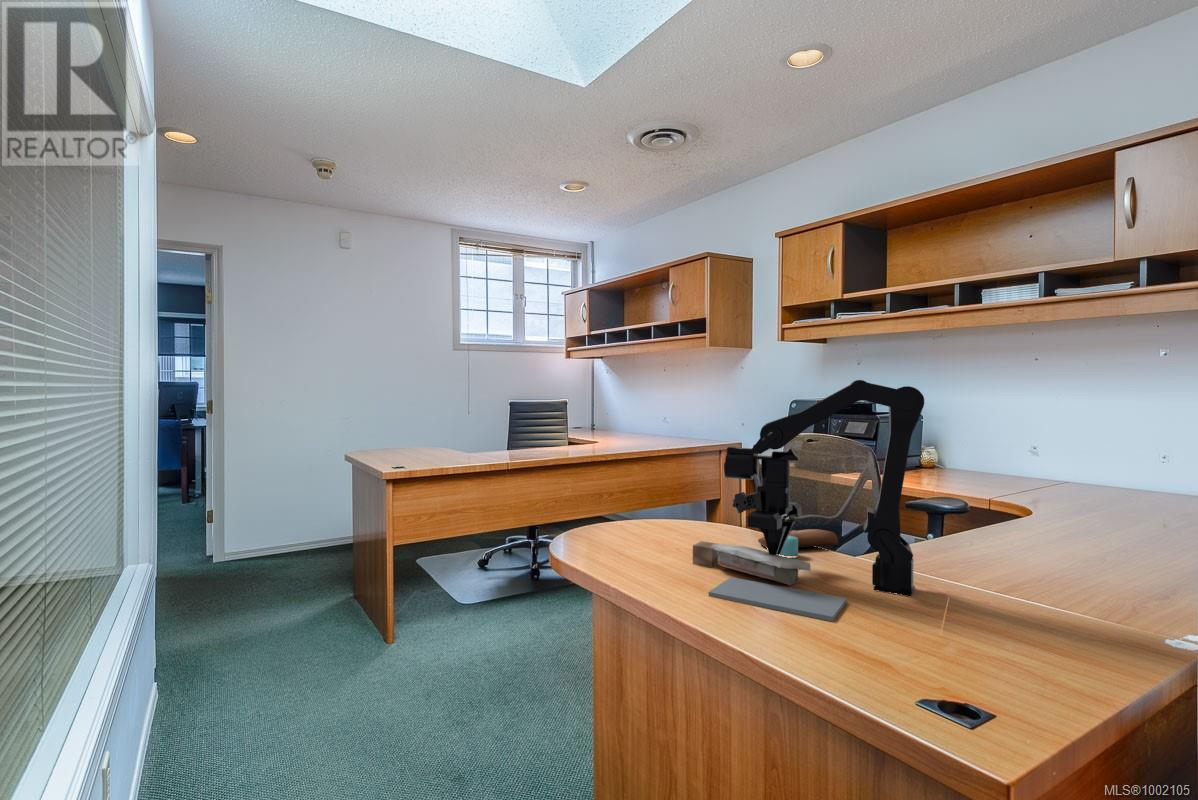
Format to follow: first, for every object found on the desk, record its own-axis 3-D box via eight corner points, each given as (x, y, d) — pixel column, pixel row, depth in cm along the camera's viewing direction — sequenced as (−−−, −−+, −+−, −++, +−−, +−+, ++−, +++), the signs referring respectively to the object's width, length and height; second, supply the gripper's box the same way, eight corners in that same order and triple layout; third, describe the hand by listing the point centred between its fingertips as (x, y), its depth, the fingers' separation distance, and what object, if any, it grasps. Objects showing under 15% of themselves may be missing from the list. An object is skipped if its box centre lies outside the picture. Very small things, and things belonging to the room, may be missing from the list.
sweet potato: (816, 535, 153) (826, 518, 149) (830, 557, 147) (841, 540, 143) (755, 539, 147) (764, 522, 144) (767, 562, 142) (777, 545, 138)
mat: (846, 602, 106) (846, 598, 106) (832, 621, 97) (832, 616, 97) (730, 581, 119) (730, 577, 119) (708, 596, 110) (708, 591, 110)
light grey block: (738, 566, 131) (708, 565, 126) (741, 544, 132) (711, 542, 126) (809, 587, 117) (778, 587, 111) (812, 562, 117) (781, 561, 111)
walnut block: (719, 564, 131) (719, 544, 131) (711, 568, 128) (711, 548, 128) (701, 561, 134) (701, 541, 134) (692, 565, 130) (692, 545, 130)
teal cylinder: (800, 556, 138) (800, 537, 138) (795, 560, 134) (795, 540, 134) (780, 553, 141) (780, 534, 141) (775, 557, 137) (775, 538, 137)
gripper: (753, 473, 135) (752, 541, 135) (721, 482, 120) (721, 559, 120) (802, 477, 129) (802, 548, 129) (776, 487, 114) (775, 568, 114)
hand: (774, 555), depth 123 cm, fingers closed on light grey block, 3 cm apart
